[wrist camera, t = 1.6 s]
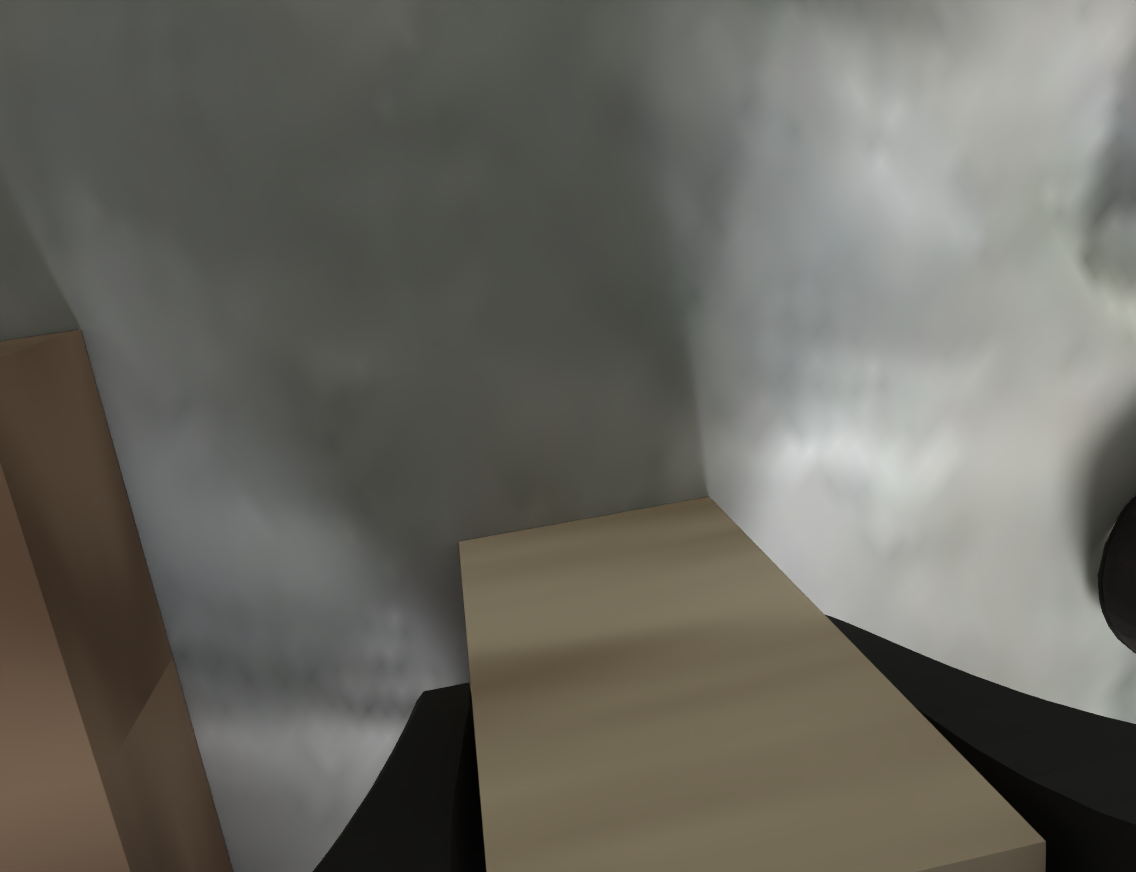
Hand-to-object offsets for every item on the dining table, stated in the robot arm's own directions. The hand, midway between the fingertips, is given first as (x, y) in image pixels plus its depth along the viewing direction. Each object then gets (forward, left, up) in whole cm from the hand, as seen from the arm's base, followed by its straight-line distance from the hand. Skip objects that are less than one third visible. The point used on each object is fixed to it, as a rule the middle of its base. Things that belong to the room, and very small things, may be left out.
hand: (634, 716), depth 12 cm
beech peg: (0, 0, -2) cm, 2 cm away
